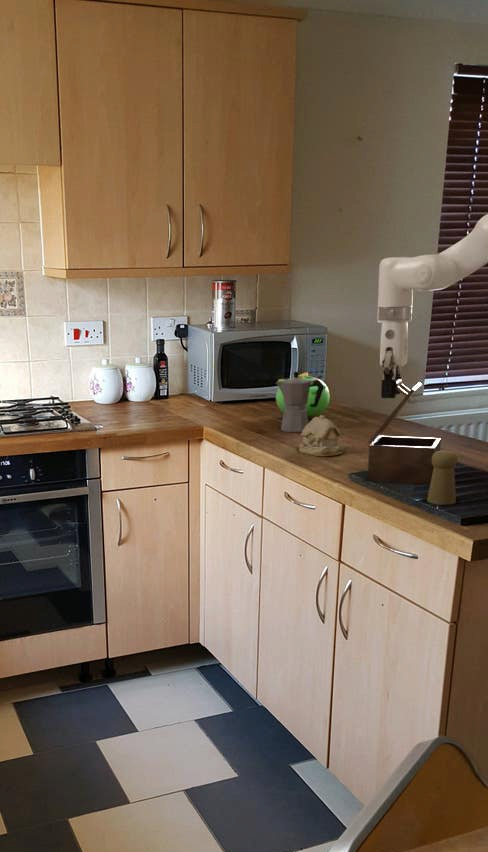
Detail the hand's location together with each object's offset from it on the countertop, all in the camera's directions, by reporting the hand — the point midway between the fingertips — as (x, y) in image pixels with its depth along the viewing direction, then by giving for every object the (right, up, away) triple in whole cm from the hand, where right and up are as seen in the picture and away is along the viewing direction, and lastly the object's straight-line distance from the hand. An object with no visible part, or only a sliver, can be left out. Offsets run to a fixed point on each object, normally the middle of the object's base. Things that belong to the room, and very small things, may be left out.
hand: (390, 395), depth 203 cm
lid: (+2, -4, +1) cm, 5 cm away
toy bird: (-6, +12, +94) cm, 95 cm away
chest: (+4, -19, +5) cm, 20 cm away
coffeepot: (-10, +4, +72) cm, 72 cm away
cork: (+6, -27, -17) cm, 32 cm away
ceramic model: (-9, -8, +38) cm, 40 cm away
